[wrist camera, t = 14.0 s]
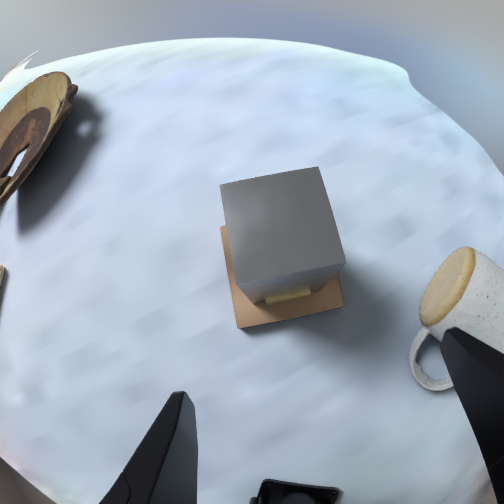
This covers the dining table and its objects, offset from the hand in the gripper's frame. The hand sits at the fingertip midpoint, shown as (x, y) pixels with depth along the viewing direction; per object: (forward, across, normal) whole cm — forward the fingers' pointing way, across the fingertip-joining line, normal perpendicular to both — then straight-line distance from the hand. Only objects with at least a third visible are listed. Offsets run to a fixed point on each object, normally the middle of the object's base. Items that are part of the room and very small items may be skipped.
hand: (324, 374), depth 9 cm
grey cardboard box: (+13, 0, +4) cm, 14 cm away
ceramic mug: (+8, -13, +11) cm, 19 cm away
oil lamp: (+32, +33, -12) cm, 47 cm away
